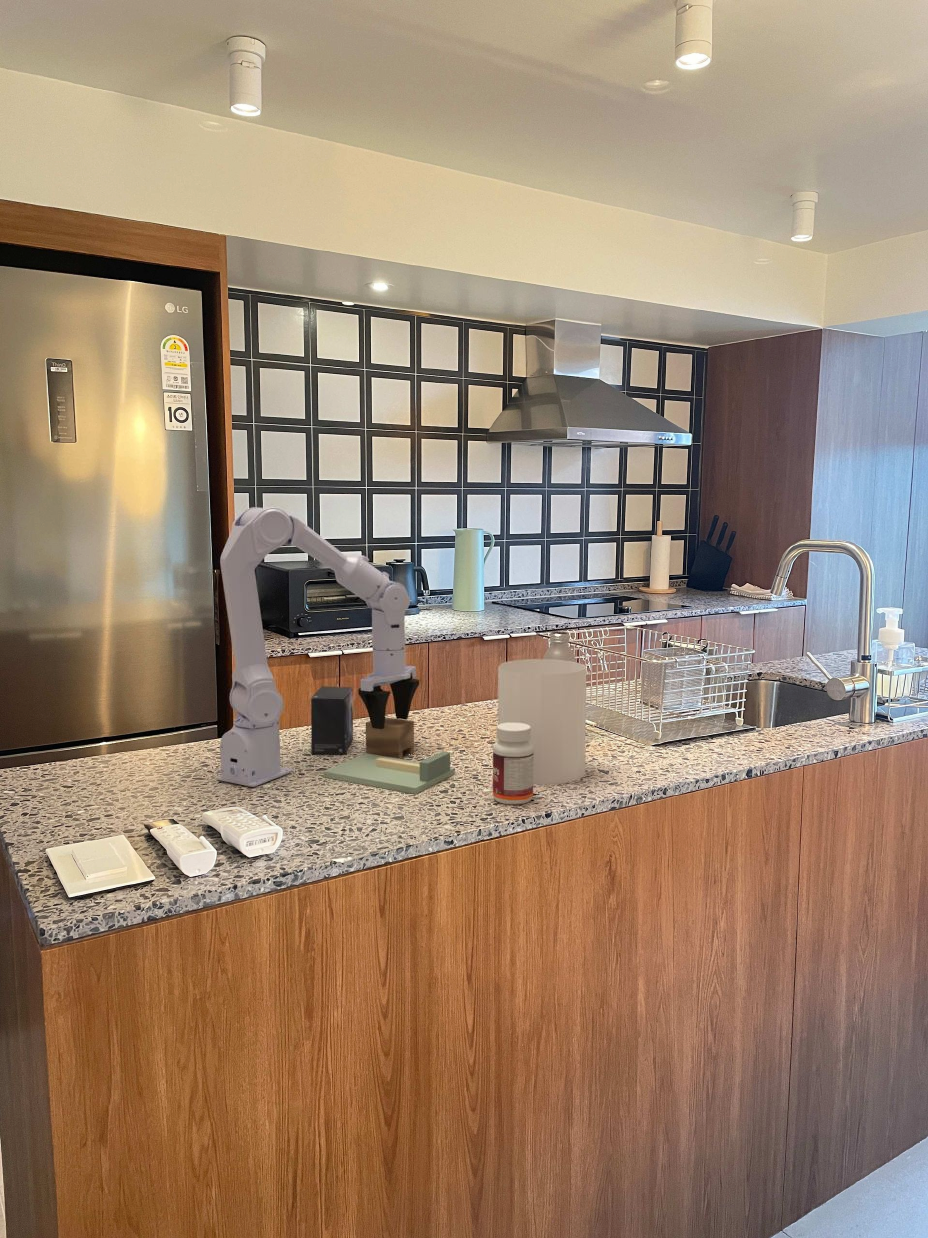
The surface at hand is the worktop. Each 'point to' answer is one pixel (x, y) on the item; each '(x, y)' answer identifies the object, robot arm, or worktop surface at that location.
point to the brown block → (391, 738)
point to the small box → (331, 720)
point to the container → (547, 714)
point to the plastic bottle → (559, 647)
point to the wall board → (393, 772)
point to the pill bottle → (513, 764)
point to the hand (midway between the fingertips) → (390, 723)
